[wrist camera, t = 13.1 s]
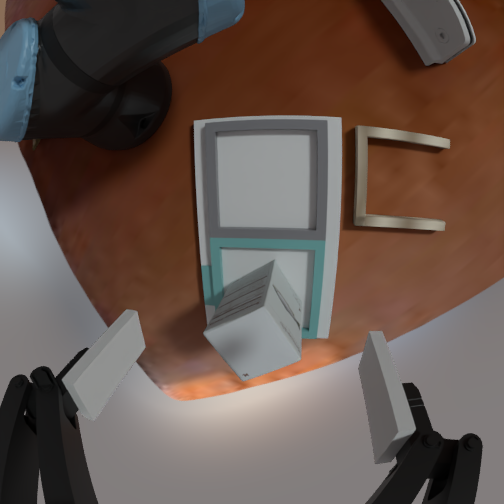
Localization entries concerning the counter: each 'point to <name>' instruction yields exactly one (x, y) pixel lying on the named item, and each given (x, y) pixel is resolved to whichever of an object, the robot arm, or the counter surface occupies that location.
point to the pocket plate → (270, 206)
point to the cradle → (361, 178)
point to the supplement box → (258, 323)
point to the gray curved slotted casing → (434, 27)
